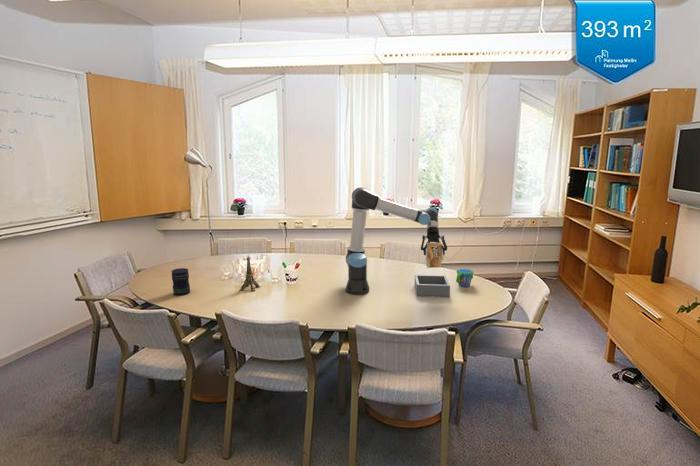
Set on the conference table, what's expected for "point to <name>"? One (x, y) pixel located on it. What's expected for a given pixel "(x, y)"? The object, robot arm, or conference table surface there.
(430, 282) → the bin
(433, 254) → the candy box
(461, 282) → the snack cup
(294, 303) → the conference table surface
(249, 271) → the eiffel tower
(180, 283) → the storage jar
